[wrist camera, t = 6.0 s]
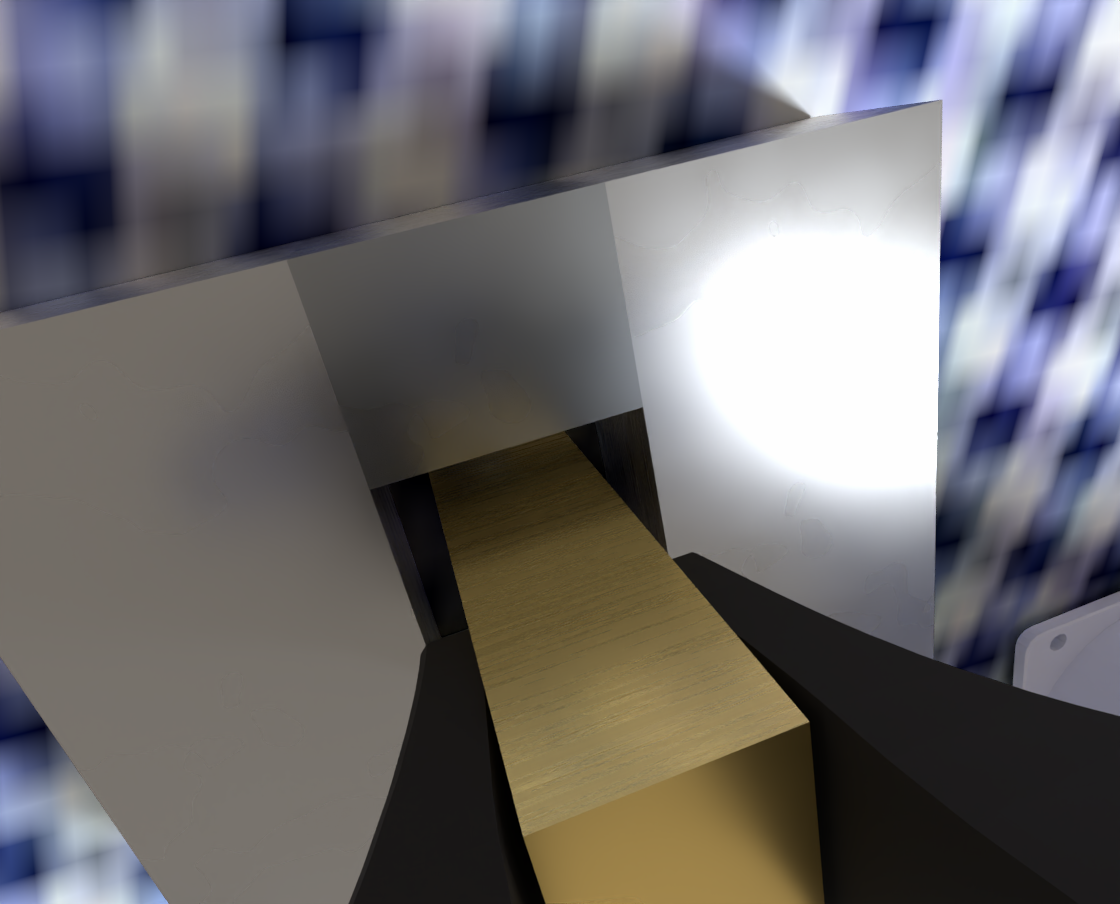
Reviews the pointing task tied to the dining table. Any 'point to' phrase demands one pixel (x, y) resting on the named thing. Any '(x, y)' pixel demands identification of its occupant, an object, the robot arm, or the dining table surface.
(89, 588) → the grey slotted plate
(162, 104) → the dining table surface
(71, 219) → the dining table surface
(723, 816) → the wood grain block
